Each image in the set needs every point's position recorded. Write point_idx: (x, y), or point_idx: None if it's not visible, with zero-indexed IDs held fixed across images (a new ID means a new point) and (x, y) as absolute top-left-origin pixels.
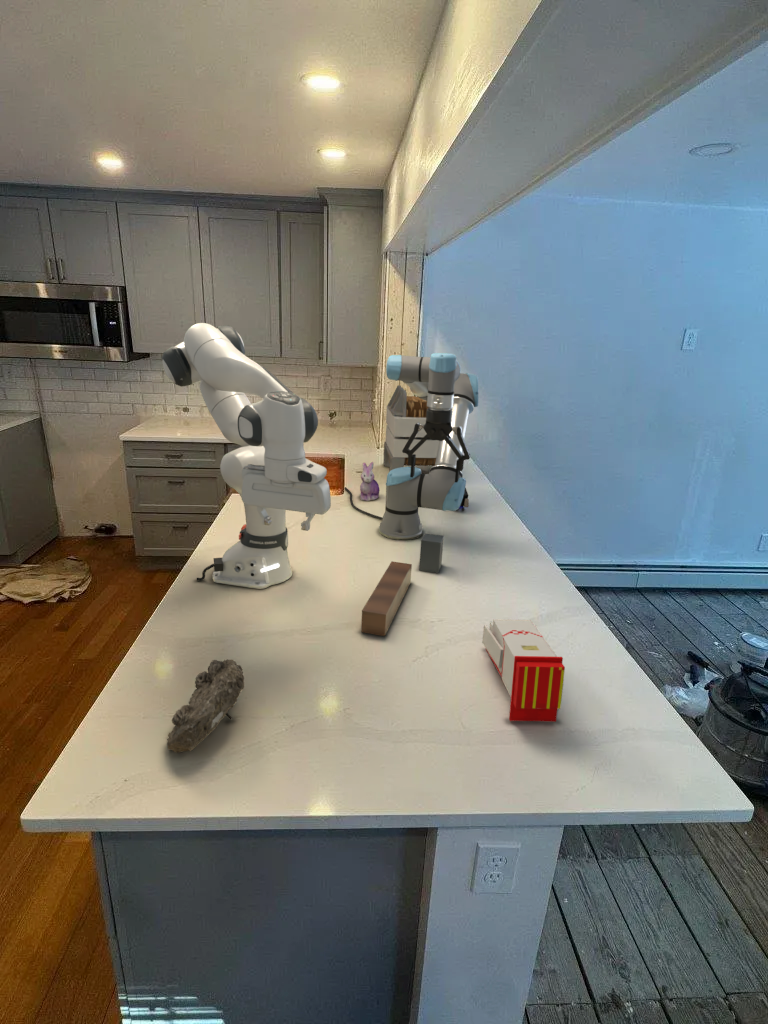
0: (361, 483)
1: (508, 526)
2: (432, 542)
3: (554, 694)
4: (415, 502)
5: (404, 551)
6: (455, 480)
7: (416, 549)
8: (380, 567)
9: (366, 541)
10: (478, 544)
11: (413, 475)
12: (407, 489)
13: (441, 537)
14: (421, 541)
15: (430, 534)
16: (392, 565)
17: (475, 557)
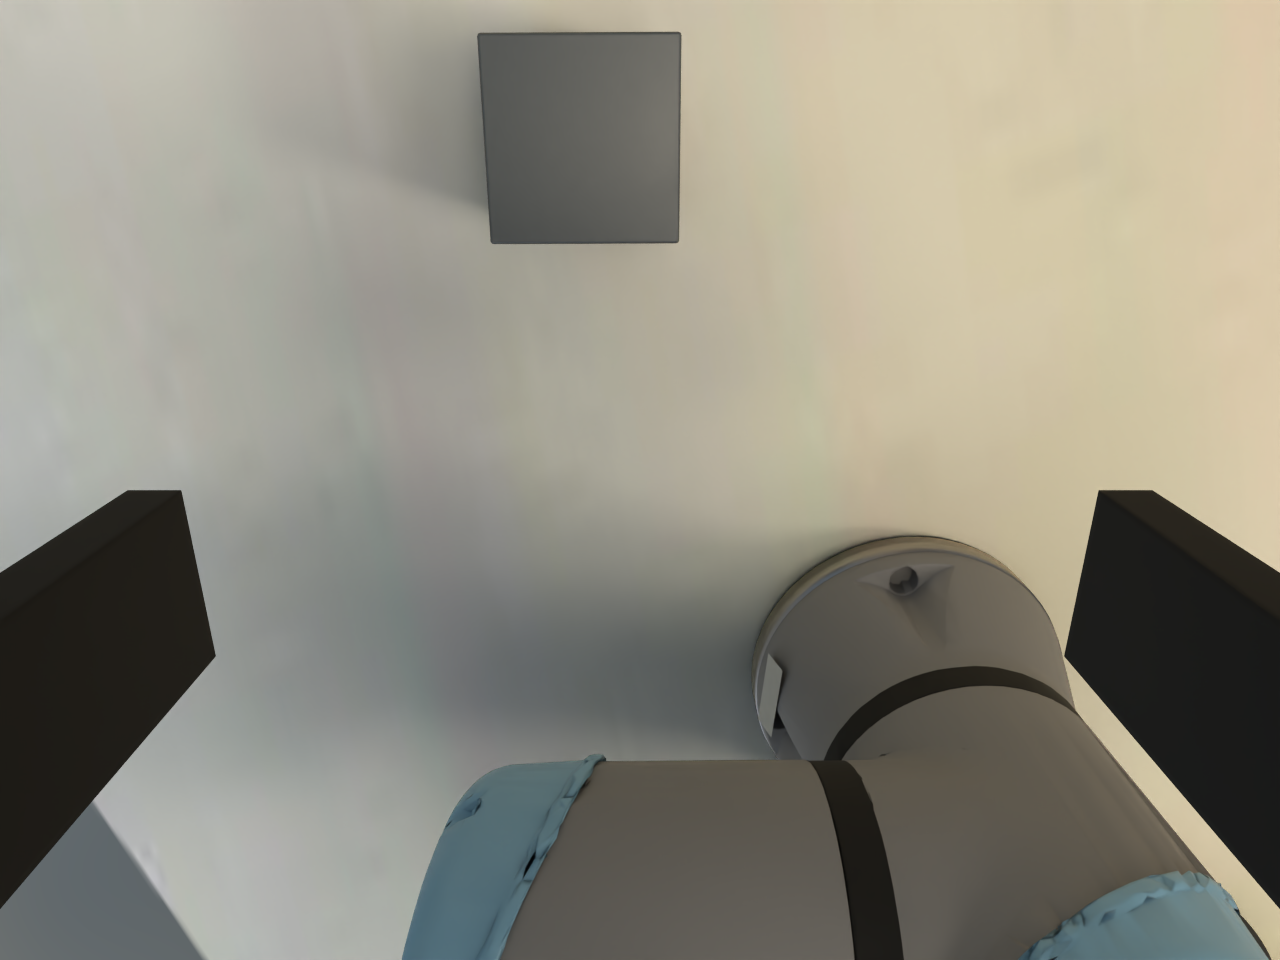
0: None
1: (255, 949)
2: (563, 33)
3: None
4: (862, 763)
5: (825, 370)
6: (146, 502)
7: (747, 432)
8: (964, 13)
9: (1116, 448)
10: (363, 645)
11: (1093, 577)
12: (997, 845)
13: (501, 183)
14: (675, 34)
15: (618, 224)
16: None
17: (333, 436)
